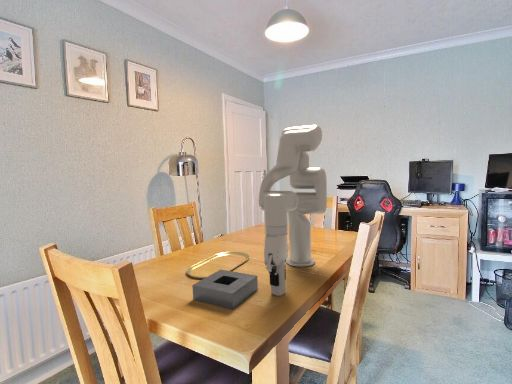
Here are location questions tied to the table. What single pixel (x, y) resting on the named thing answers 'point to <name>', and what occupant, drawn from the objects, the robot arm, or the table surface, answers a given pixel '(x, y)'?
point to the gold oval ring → (214, 258)
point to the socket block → (225, 288)
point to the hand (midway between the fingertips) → (278, 281)
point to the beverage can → (281, 288)
